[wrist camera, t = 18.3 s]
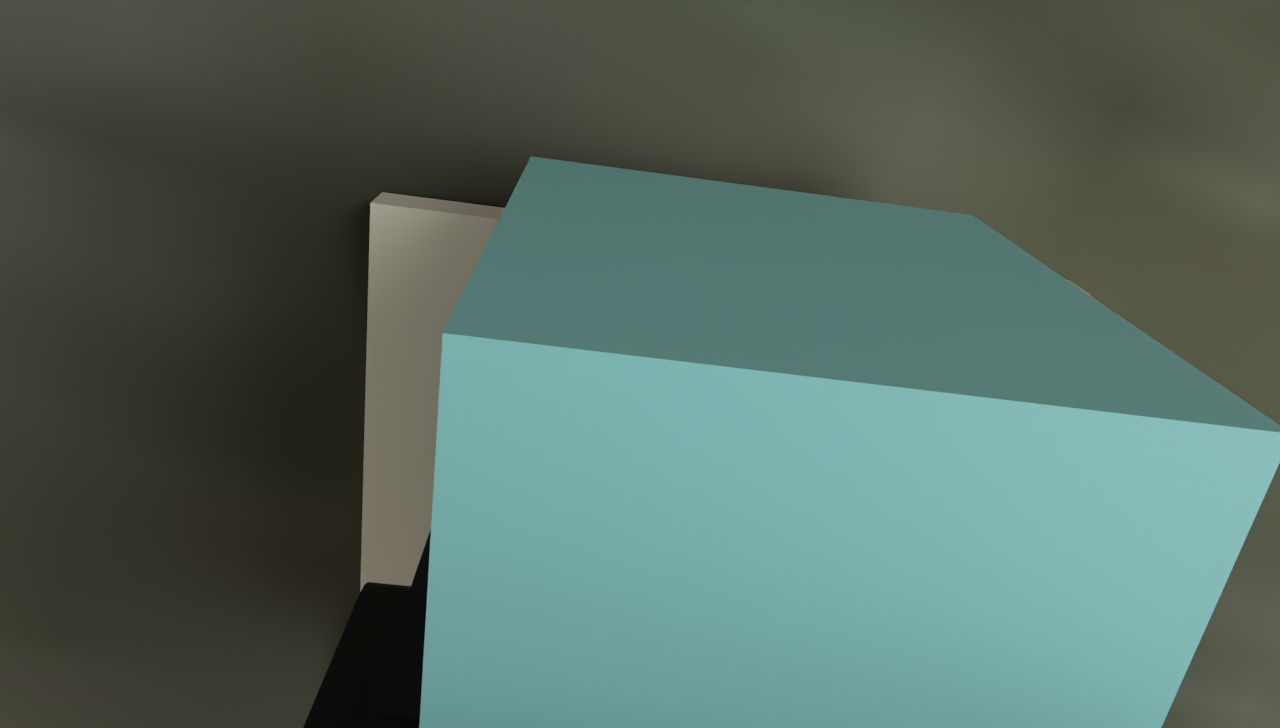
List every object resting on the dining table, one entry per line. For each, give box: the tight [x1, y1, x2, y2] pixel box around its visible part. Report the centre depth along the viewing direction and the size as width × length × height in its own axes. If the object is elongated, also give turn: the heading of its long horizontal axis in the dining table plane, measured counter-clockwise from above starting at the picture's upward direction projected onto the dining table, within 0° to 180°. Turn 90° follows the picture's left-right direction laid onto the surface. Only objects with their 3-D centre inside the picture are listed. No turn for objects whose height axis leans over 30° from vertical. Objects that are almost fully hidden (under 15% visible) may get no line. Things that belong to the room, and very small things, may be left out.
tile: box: [360, 192, 1090, 592], centre depth 14 cm, size 9×9×1 cm
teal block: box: [419, 157, 1280, 728], centre depth 9 cm, size 5×8×6 cm, turn 172°
